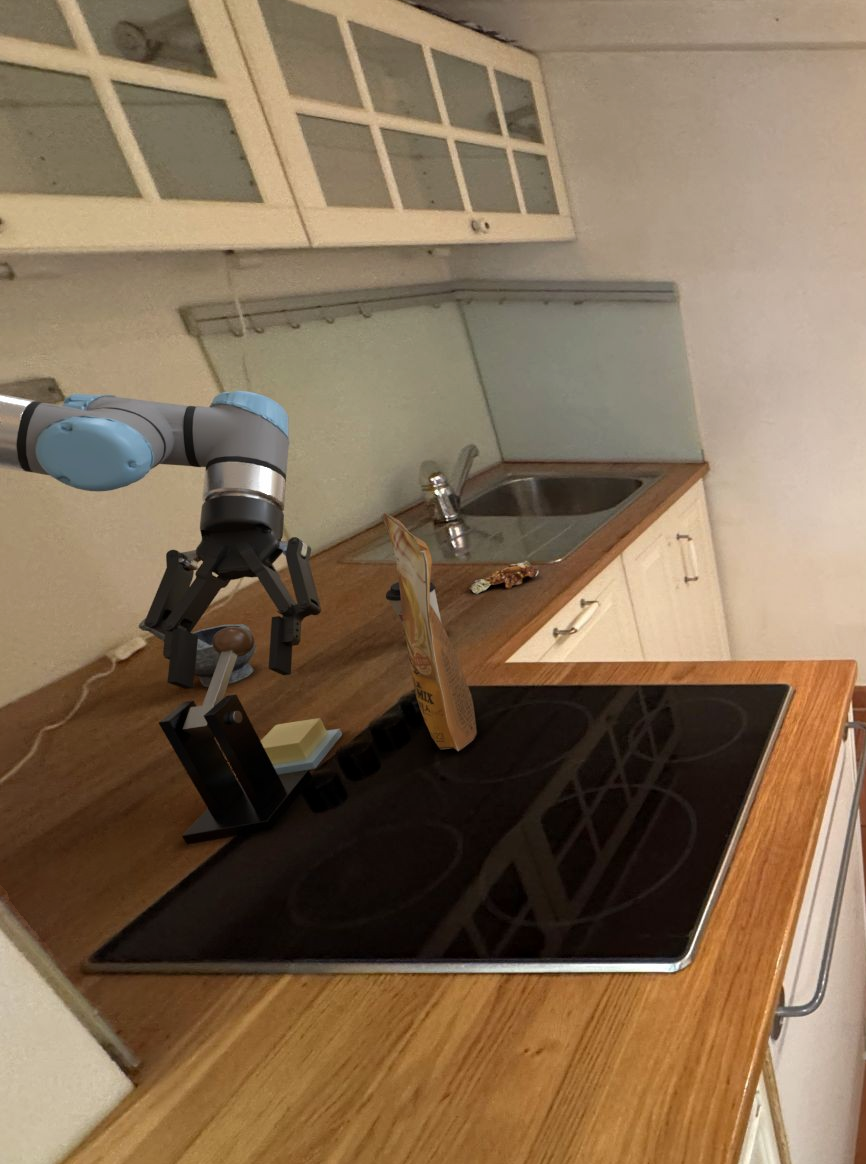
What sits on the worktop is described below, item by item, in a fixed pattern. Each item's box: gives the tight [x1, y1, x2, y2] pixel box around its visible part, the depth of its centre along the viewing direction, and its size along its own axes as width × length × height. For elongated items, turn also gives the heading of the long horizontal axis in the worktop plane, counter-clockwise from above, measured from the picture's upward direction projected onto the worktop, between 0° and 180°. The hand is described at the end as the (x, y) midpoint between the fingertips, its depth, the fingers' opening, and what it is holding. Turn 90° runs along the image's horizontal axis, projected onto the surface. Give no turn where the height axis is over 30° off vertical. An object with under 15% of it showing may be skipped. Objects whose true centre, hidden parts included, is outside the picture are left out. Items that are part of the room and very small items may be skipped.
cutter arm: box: [183, 627, 255, 740], centre depth 87 cm, size 14×4×4 cm, turn 17°
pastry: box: [469, 560, 540, 595], centre depth 150 cm, size 7×12×4 cm, turn 138°
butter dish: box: [260, 717, 343, 775], centre depth 98 cm, size 7×8×4 cm
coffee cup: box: [385, 581, 442, 628], centre depth 127 cm, size 7×7×10 cm
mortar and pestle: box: [137, 617, 256, 688], centre depth 116 cm, size 11×9×12 cm
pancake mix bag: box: [380, 512, 478, 752], centre depth 99 cm, size 7×19×28 cm, turn 38°
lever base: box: [158, 694, 313, 845], centre depth 86 cm, size 10×8×14 cm
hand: (230, 678), depth 89 cm, fingers open, 9 cm apart
